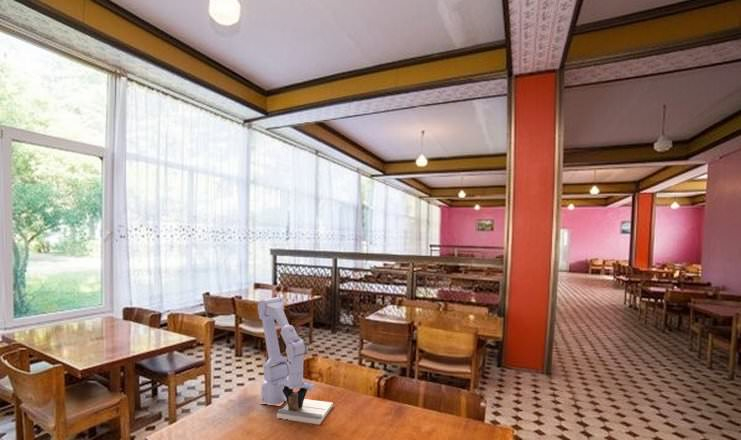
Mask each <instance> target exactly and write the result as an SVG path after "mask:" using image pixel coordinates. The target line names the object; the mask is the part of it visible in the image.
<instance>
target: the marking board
mask: <svg viewBox="0 0 741 440" xmlns="http://www.w3.org/2000/svg"><path fill="white" fill-rule="evenodd" d="M333 406H334V402H331V401H324V400H315V399H308V398H304V401H303V406H302V409H301V410H300V411H292V410H288V403H286V404H285V405H284V406H283V408H279V409H278V410H277V413H276V419H279V418H282V419H281V420H286V419H288V420H287V421H293V422H300V423H306V424H314V425H321V423H322V422H323V421H324V420H325V418H326V417H327V415H328V414H329V412H330V411H331V410H332V409H333Z"/></svg>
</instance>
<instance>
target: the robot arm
mask: <svg viewBox="0 0 741 440" xmlns="http://www.w3.org/2000/svg"><path fill="white" fill-rule="evenodd" d="M284 309H285V303H284V300H283V298H282V297H281V296H276V297H269V298H261V299H260V300H259V301H258V304H257V314H258V318H259V320H261V322H262V328H263V333H264V339H265V344H266V350H267V357H268V359H267V361H265V363H264V365H263V379H264V380H263V382H262V385H261V399H260V400H261V402H266V403H270V404H280V403H282V402H284V401H285V397H286V400H287V401H286V402H287V403H286V404H288V402H289V395H290V394H291V393H293V392H294V389H299V390H298V391H296V392H297V393H298V399H299V408H301V407H302V406H303V401H304V399H306V398H305V397H306V395H307V392H308V391H309V392H310V391H313V390H314V383H312V382H307V381H305V380H304V355H305V354H306V352H307V345H306V341H305V340H304V339H302V337H300V336H299V335H298V333H297V331H296V329H295V327H294V326H293V325H291V324H289V320H288V317H287V316H286V313H285V311H284ZM275 321H276V323H277V324H278V327H279V328H280V329H281V330H280V335H281V337H282V340H283V342H284V344H285V346H286V347H285V352H286V357H287V358H286V357H284V356H282V355H281V351H280V345H279V340H278V333H277V328H276V323H275ZM264 399H265V400H264ZM261 402H260V403H261Z"/></svg>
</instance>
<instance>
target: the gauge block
mask: <svg viewBox="0 0 741 440" xmlns="http://www.w3.org/2000/svg"><path fill="white" fill-rule="evenodd" d="M297 392H298V391H293V393H291V394H290V395H289V402H288V403H287V404H288V410H292V411H300V410H301V409H302V407H301V408H299V399H298V393H297Z"/></svg>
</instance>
